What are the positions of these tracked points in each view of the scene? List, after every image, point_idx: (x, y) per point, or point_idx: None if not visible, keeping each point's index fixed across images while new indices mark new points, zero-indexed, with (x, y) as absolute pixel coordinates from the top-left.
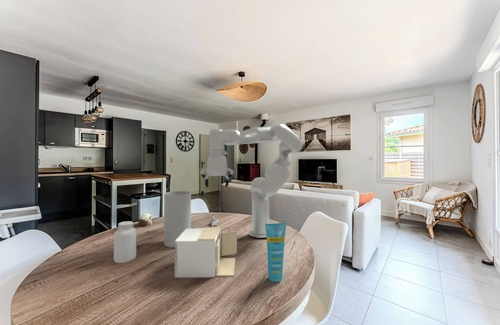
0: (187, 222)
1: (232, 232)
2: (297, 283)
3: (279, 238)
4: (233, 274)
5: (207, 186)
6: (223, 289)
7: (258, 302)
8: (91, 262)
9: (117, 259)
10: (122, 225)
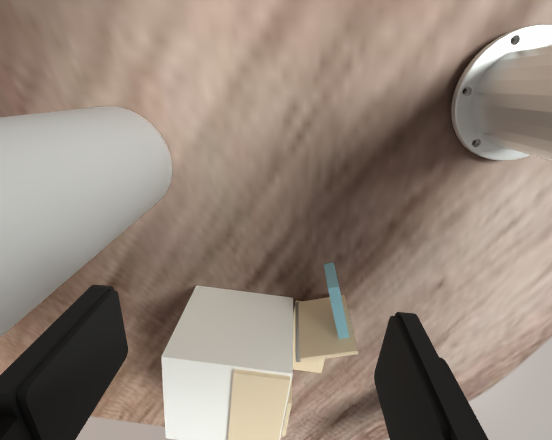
0: (124, 225)
1: (340, 353)
2: None
3: None
4: (321, 371)
5: (118, 362)
6: (297, 398)
7: (351, 429)
8: None
9: None
10: None
